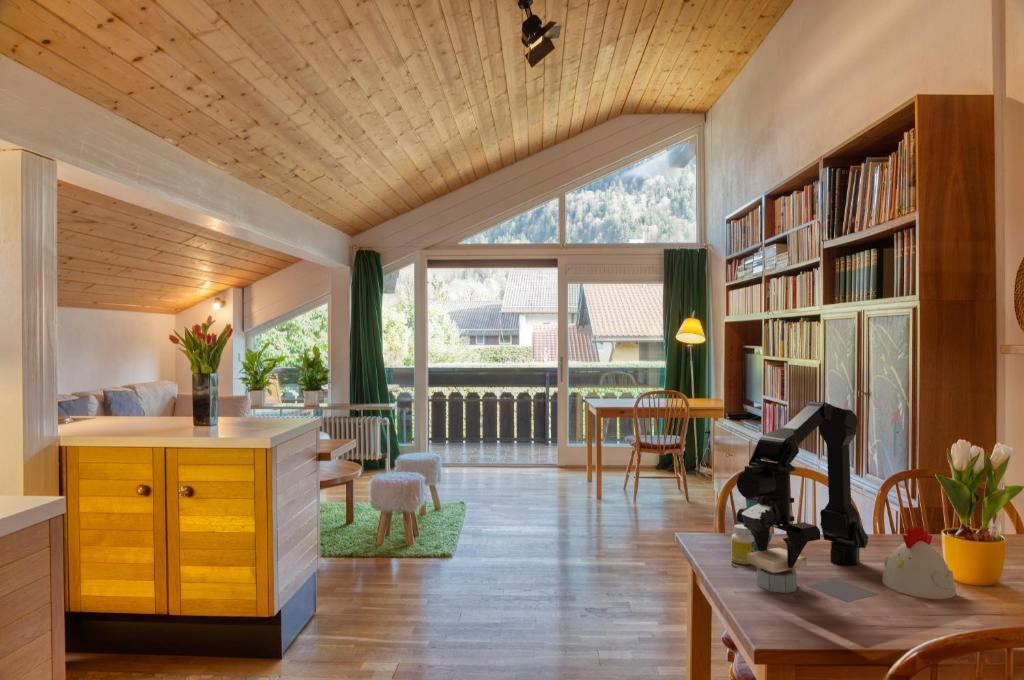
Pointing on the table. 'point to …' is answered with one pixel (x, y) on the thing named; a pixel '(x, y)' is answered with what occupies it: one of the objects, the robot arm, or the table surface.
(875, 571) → the table surface
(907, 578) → the white ceramic hen
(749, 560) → the cover board
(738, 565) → the supplement bottle
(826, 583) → the mat
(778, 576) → the bowl
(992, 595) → the table surface
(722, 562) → the table surface
